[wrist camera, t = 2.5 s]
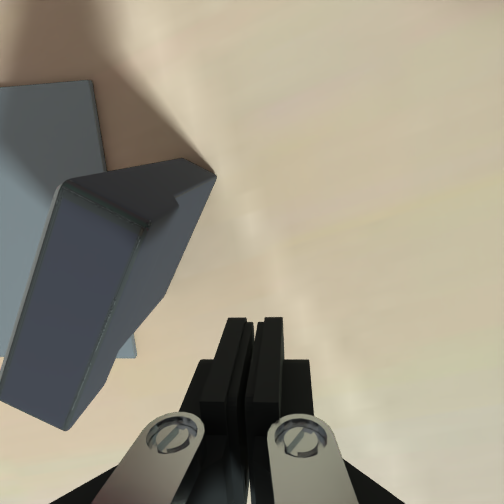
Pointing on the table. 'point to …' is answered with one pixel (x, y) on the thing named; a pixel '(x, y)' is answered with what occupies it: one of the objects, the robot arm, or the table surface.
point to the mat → (40, 176)
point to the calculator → (97, 281)
